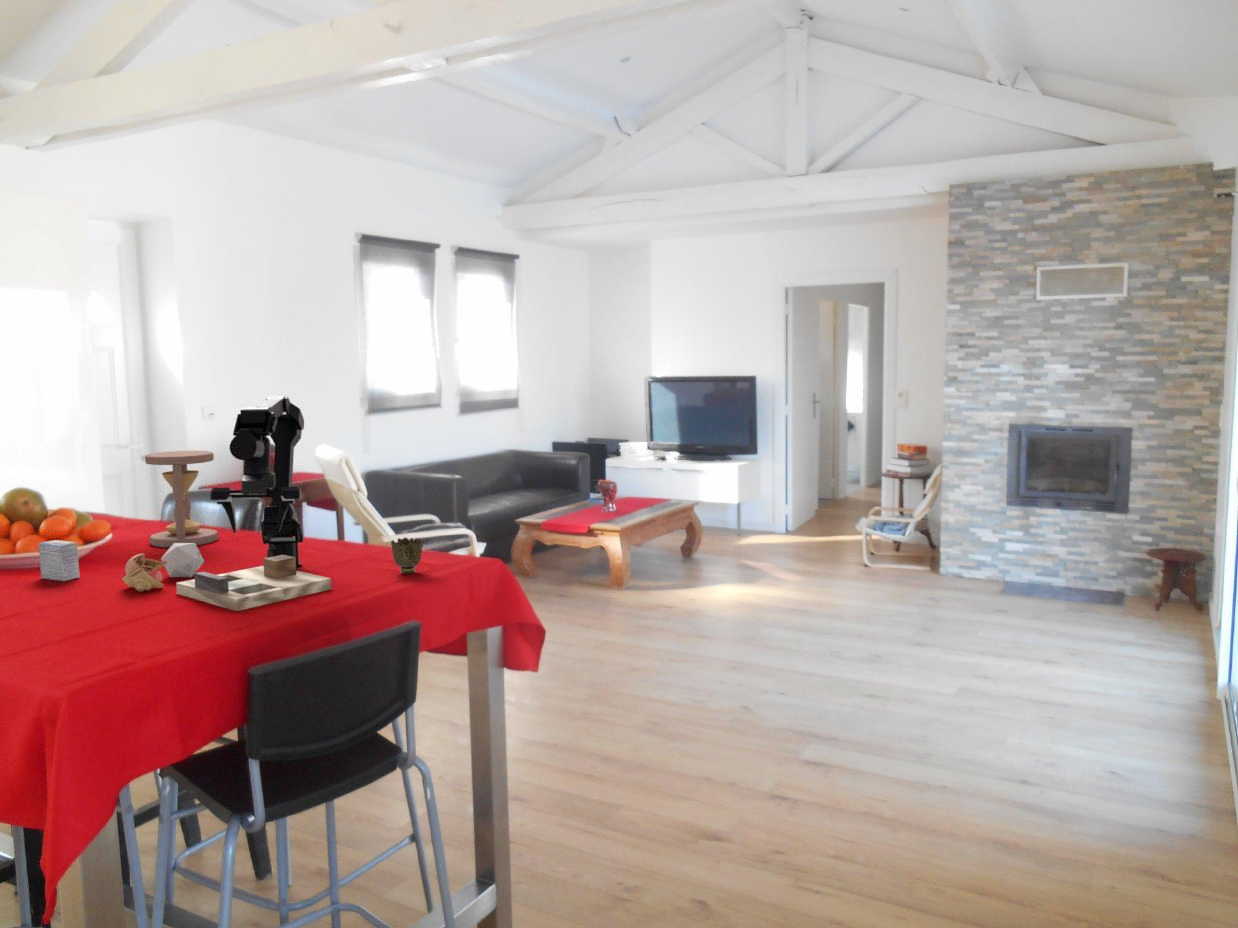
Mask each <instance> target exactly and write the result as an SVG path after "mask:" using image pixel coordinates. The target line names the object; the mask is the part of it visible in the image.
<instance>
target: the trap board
mask: <svg viewBox="0 0 1238 928" xmlns="http://www.w3.org/2000/svg"><path fill="white" fill-rule="evenodd" d="M193 577H194V579H188V580H184V581H178V582H176V594H177V595H179V596H183V597H186V598H191V599H194V600H196V601H200V602H204V603H207V604H211V605H214V606H218V607H221V608H224V609H228V610H231V611H234V612H238V611H243V610H247V609H251V608H256V607H261V606H264V605H270V604H273V603H278V602H282V601H287V600H291V599H295V598H299V597H304V596H309V595H312V594H317V593H320V592H326V591H329V590H332V579H331V577H328V576H327V577H326V576H324V575H323V576H322V575H317V574H313V573H308V572H305V571H300V570H296V575H292V576H287V577H283V578H278V579H276V578H272V577H267V576H264V565H260V566H256V567H251V568H250V567H249V568H245V569H240V570H235V571H230V572H225V573H219V574H215V573H214V574H213V573H210V572H206V571H200V572H195V573H194V575H193Z"/></svg>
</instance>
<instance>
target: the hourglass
mask: <svg viewBox="0 0 1238 928" xmlns="http://www.w3.org/2000/svg"><path fill="white" fill-rule="evenodd" d="M214 455H215V454H214V452H212V451H209V450H174V451H161V452H153V453H148V454H145V455H144V463H145V464H147V465H153V466H154V465H155V466H172V471H164V472H162V473H161V475H162V476H163V479H164V480H165V481H166V482H167V483H168V485H169V486H170V487H171V489H172V493H173V496H174V499H175V505H174V508H173V518H174V522H171V523H170V524H168V525H166V527H165V529H166V530H165V531H160V532H156V533H153V534H151V535H150V536H149V542H150V545H151V546H153V547H157V548H170V547H171V546H172V545H173V544H174V543H195V544H196V546H202V545H207V544H211V543H215V541H217V540H218V539H219V532H218V531H217V530H216V529H212V528H201V523H200V522H196V521H193V520H191V511H192V510H191V509H192V507H191V502H190V498H189V495H188V492H189V490H190V488H191V487H192V485H193V483H194V482H195V480H196V479H197V478H198V475H199V473H200V471H199V470H188V465H193V464H202V463H203V464H204V463H208V462H209V463H210V462H212V461H214V459H215V458H214V457H215V456H214Z"/></svg>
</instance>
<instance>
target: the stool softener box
mask: <svg viewBox="0 0 1238 928" xmlns="http://www.w3.org/2000/svg"><path fill="white" fill-rule="evenodd" d="M38 554H39V567H40V578H41V579H43V580H44V579H45V580H52V581H60V582H67V581H71V580H75V579H79V578H80V577H81V574H80V565H79V553H78V543H77V542H76V541H67V540H58V539H57V540H56V539H54V540H48V541H43V542H40V543H38Z"/></svg>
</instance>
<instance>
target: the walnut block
mask: <svg viewBox="0 0 1238 928" xmlns="http://www.w3.org/2000/svg"><path fill="white" fill-rule="evenodd" d="M262 560H263V566H264V576H267V577H272V578H276V579H278V578H283V577H287V576H292V575H296V571H297V567H296V557H291V556H287V555H279V556H273V557H268V556H267V557H263V558H262Z"/></svg>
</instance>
